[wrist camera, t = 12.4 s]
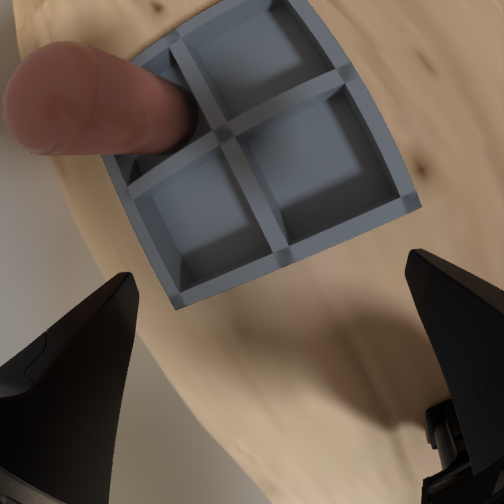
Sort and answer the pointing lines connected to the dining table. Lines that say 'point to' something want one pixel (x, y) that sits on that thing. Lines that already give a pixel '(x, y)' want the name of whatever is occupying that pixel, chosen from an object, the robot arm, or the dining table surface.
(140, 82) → the pink dome-topped cylinder
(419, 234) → the dining table surface
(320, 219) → the gray compartment tray
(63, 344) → the robot arm
